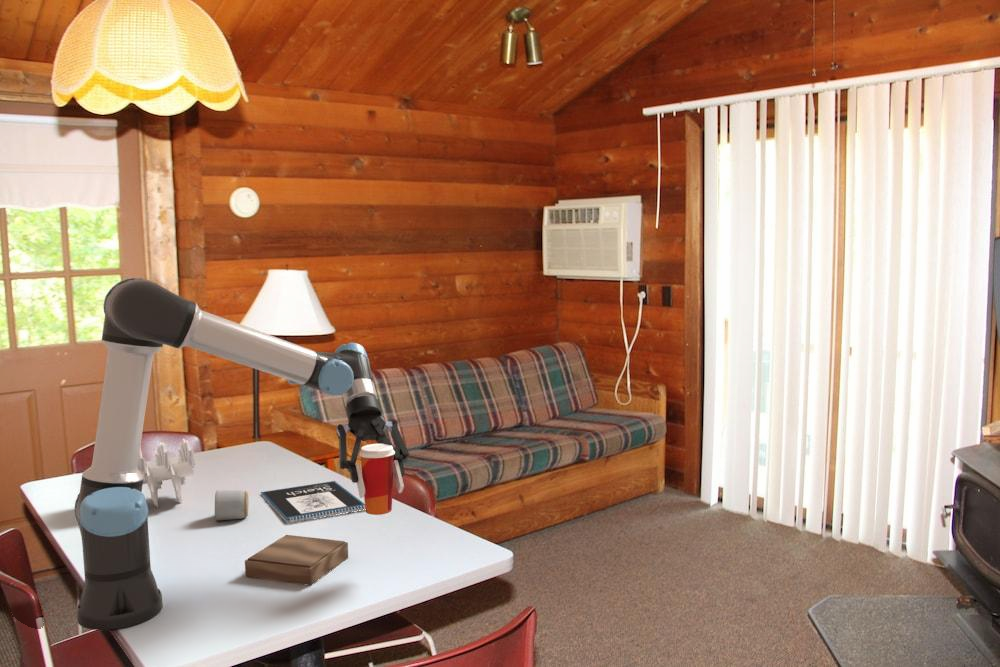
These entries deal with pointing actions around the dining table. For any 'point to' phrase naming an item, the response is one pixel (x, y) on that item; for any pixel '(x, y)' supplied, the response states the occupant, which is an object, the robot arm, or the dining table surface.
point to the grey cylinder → (231, 504)
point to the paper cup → (377, 477)
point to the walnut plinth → (296, 559)
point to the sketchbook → (312, 501)
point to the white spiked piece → (167, 469)
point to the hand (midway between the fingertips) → (382, 491)
